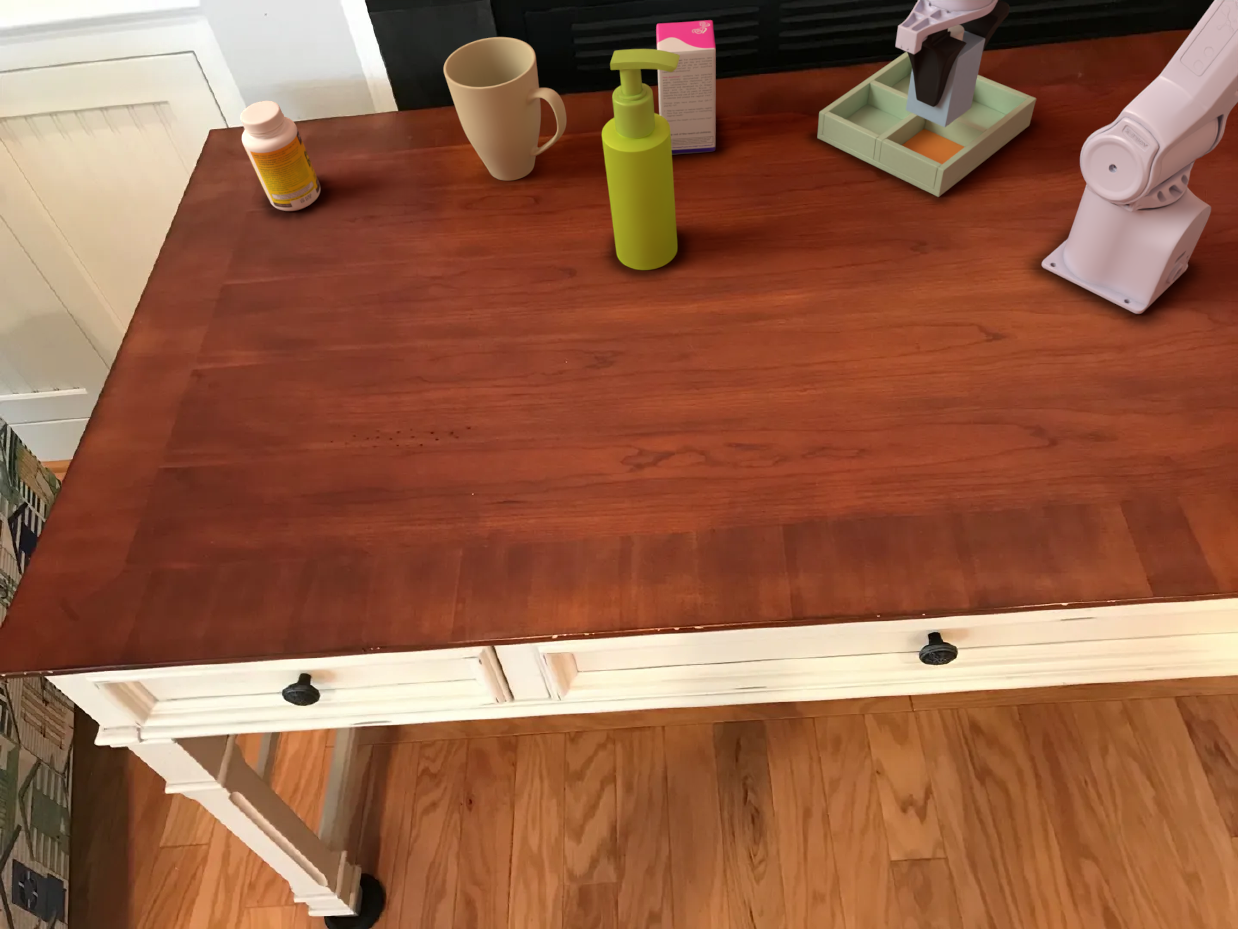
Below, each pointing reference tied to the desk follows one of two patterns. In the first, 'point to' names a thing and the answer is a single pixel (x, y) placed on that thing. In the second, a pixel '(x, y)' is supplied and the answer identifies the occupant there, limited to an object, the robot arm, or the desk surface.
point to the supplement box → (689, 85)
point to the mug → (501, 103)
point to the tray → (922, 128)
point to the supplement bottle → (279, 157)
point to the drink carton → (953, 82)
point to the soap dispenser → (640, 164)
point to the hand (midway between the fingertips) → (942, 90)
